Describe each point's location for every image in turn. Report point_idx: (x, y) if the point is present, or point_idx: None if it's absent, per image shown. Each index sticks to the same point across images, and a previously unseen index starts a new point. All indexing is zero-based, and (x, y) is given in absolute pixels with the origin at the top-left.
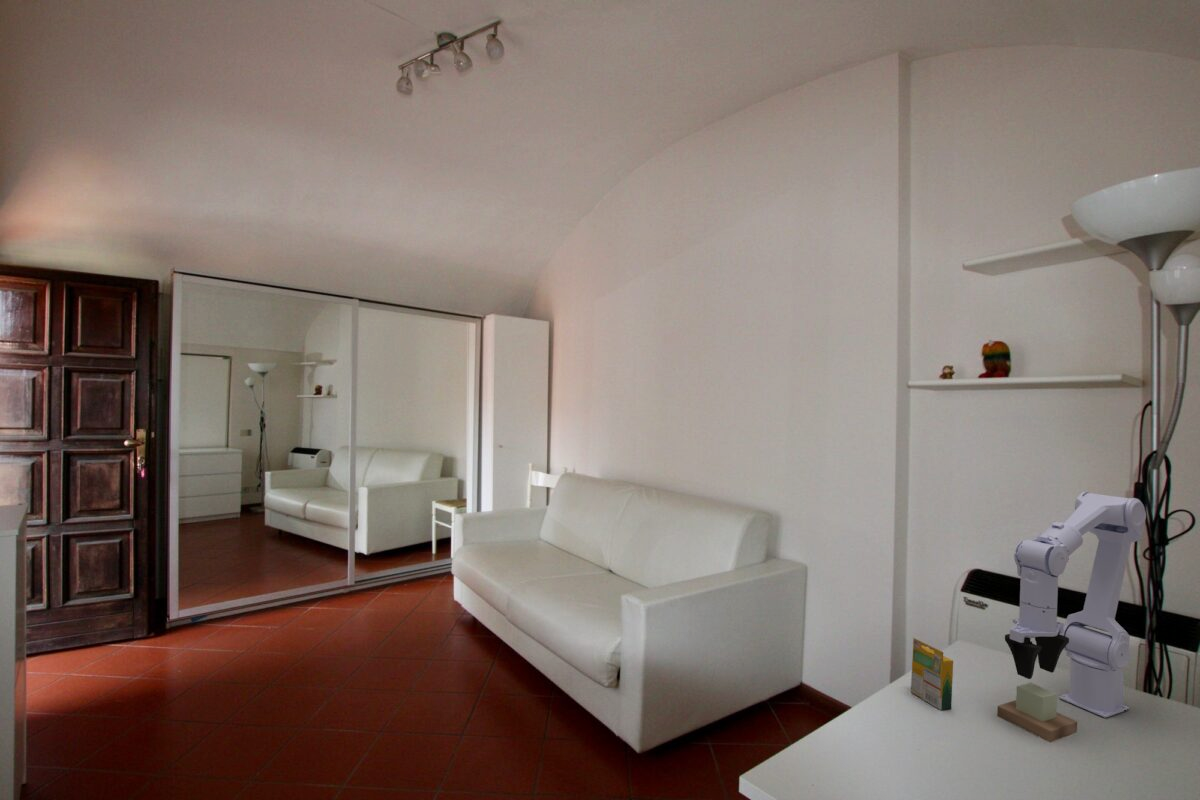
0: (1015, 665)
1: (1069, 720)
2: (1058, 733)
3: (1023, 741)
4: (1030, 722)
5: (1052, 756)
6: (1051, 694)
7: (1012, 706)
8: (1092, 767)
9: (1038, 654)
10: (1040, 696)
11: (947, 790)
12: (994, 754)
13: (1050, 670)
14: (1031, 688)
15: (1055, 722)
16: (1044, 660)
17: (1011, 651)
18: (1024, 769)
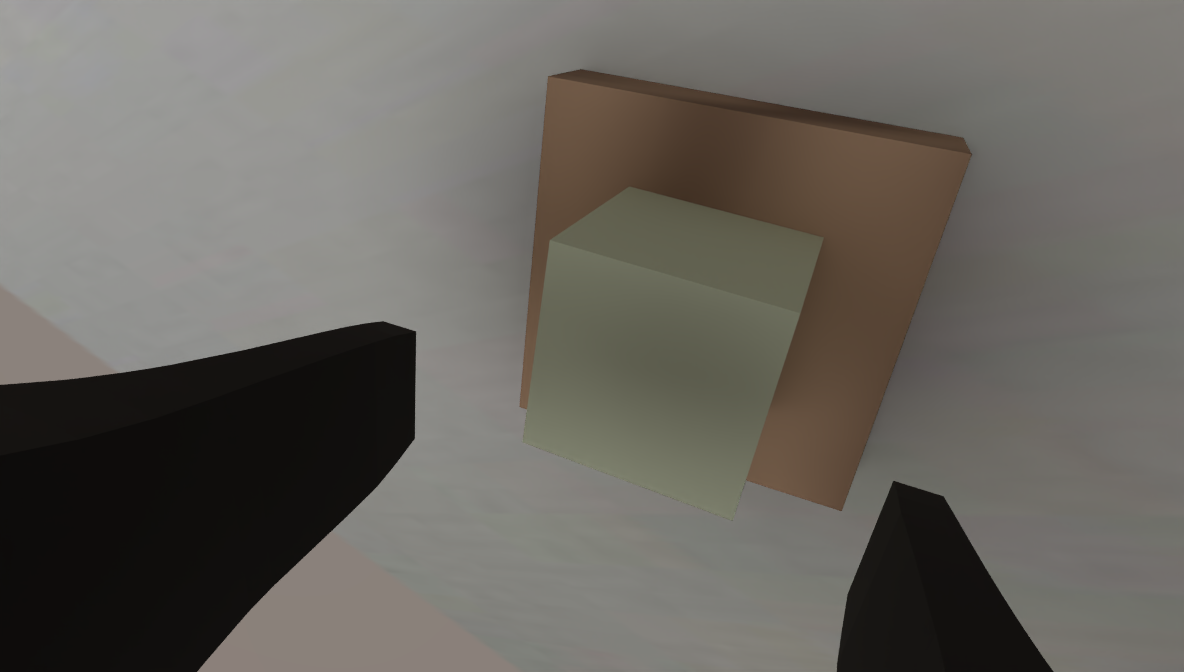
0: (299, 338)
1: (809, 474)
2: None
3: (417, 280)
4: (531, 301)
5: None
6: (666, 487)
7: (650, 154)
8: (489, 527)
9: (924, 603)
10: (526, 427)
11: None
12: (183, 224)
13: (850, 600)
14: (636, 346)
15: None
16: (885, 625)
17: (47, 389)
18: (210, 338)
